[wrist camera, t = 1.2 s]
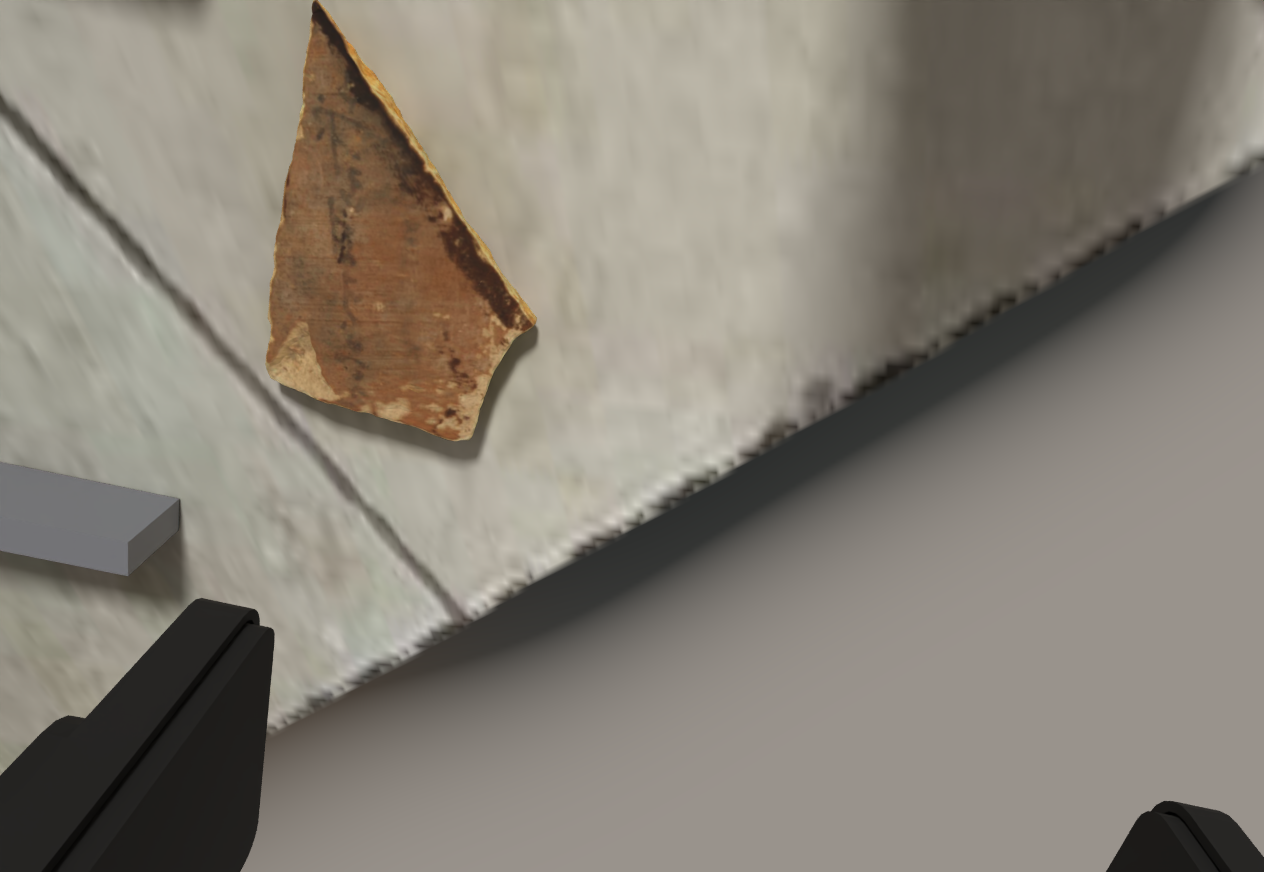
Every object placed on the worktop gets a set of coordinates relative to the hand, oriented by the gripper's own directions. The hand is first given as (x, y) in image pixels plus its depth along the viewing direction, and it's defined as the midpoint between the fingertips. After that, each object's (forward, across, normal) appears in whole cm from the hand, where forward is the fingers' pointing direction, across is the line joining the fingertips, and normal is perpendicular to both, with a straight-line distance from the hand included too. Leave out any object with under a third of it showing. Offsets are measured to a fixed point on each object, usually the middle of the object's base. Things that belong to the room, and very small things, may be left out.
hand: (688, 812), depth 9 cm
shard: (+19, +10, 0) cm, 21 cm away
